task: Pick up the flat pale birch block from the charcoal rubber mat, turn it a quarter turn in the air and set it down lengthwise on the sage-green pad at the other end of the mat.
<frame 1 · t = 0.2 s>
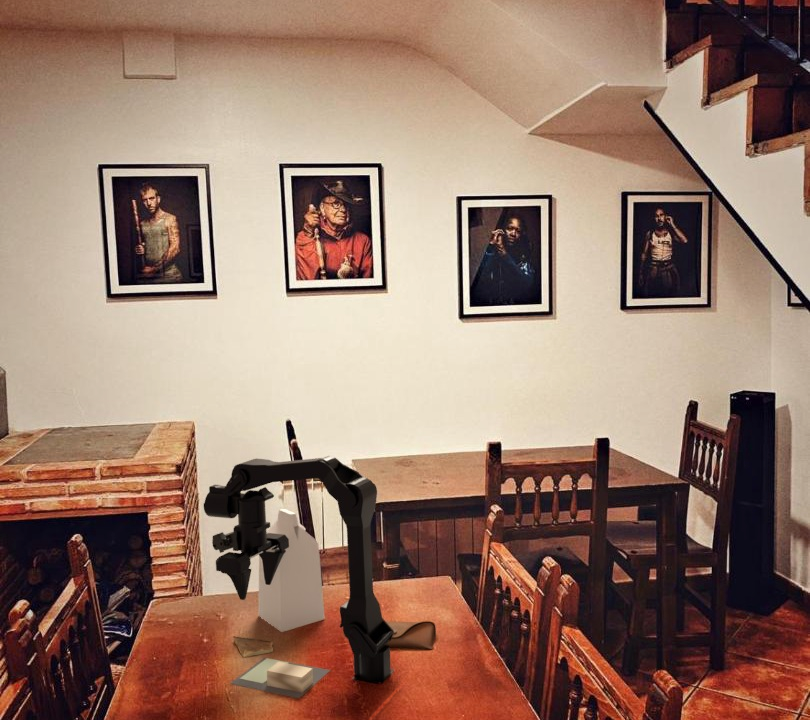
hand: (255, 591, 163), 14 cm above the table, tool pointing down, fingers open, 9 cm apart
milk: (291, 618, 185), on the table
birch block: (290, 684, 150), point 1 cm above the table, touching mat
mat: (280, 679, 153), on the table
shard: (248, 654, 167), on the table
sunglasses case: (395, 644, 170), on the table
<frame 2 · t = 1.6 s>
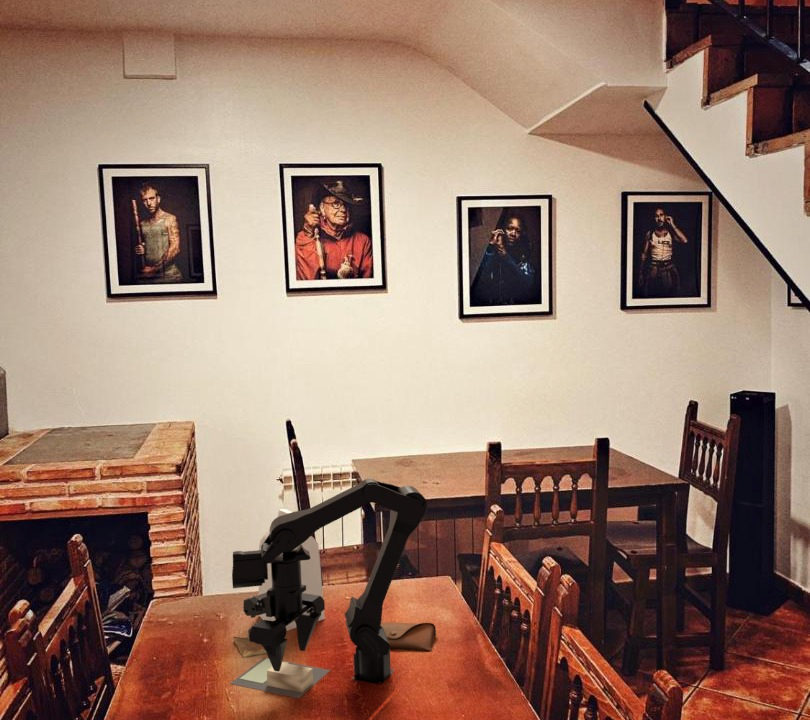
hand: (290, 660, 150), 5 cm above the table, tool pointing down, fingers open, 9 cm apart
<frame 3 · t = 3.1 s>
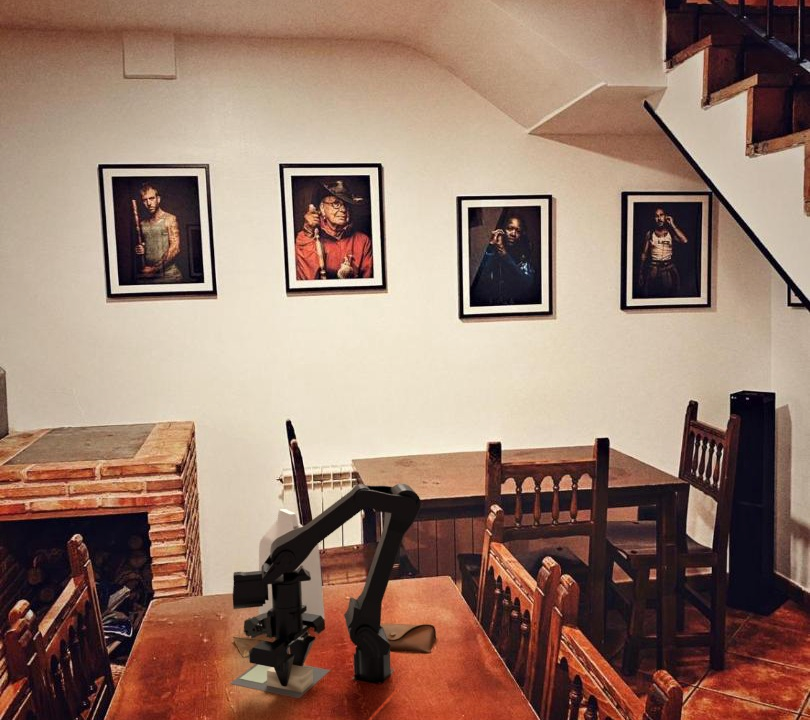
hand: (290, 680, 150), 1 cm above the table, tool pointing down, fingers closed on birch block, 4 cm apart
birch block: (290, 684, 150), point 1 cm above the table, touching gripper, mat
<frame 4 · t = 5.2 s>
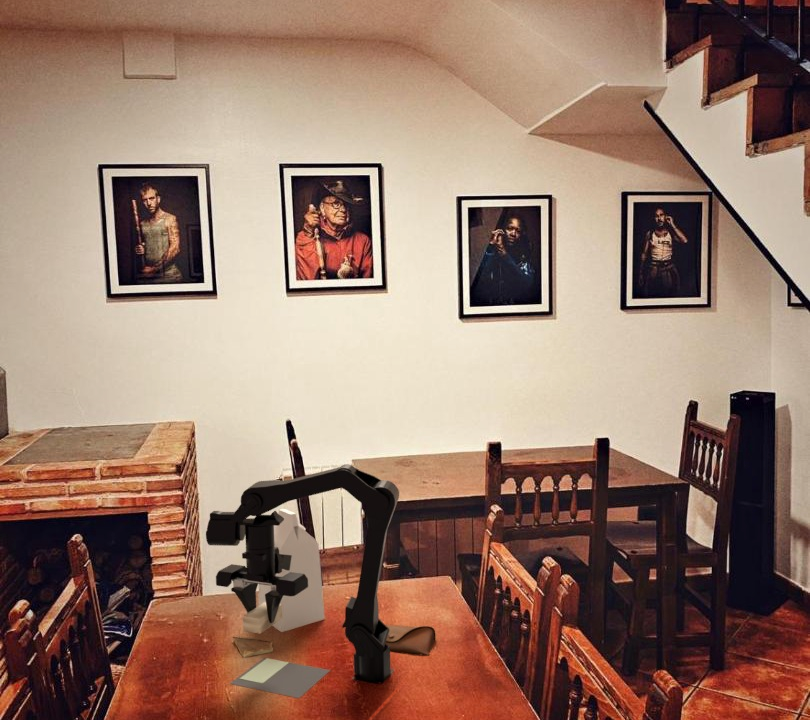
hand: (262, 621, 155), 11 cm above the table, tool pointing down, fingers closed on birch block, 4 cm apart
birch block: (263, 624, 155), point 10 cm above the table, touching gripper
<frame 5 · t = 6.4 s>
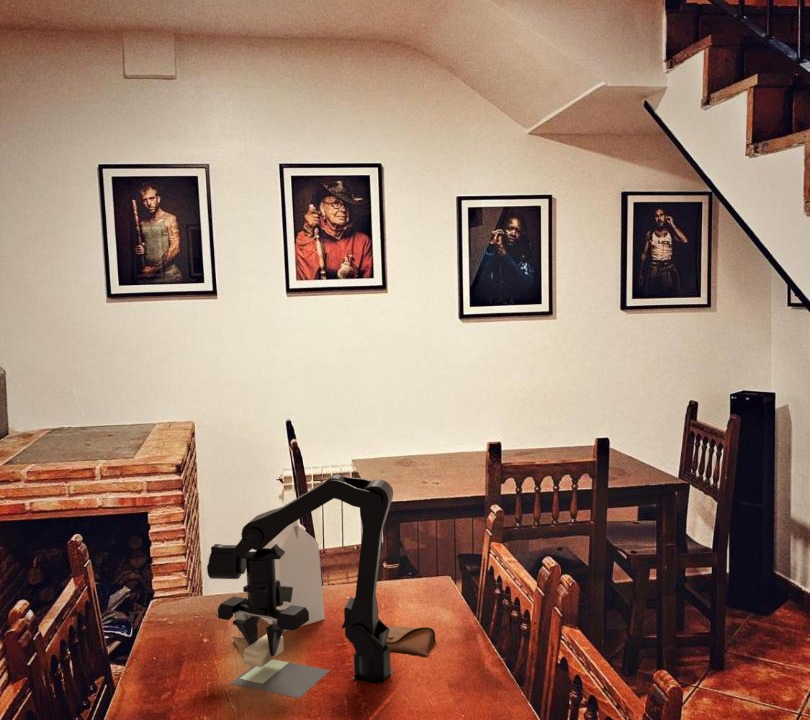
hand: (264, 653, 156), 4 cm above the table, tool pointing down, fingers closed on birch block, 4 cm apart
birch block: (264, 657, 156), point 3 cm above the table, touching gripper
when the fingers open (3 cm above the table, at t = 7.4 s): birch block drops 1 cm, resting on mat.
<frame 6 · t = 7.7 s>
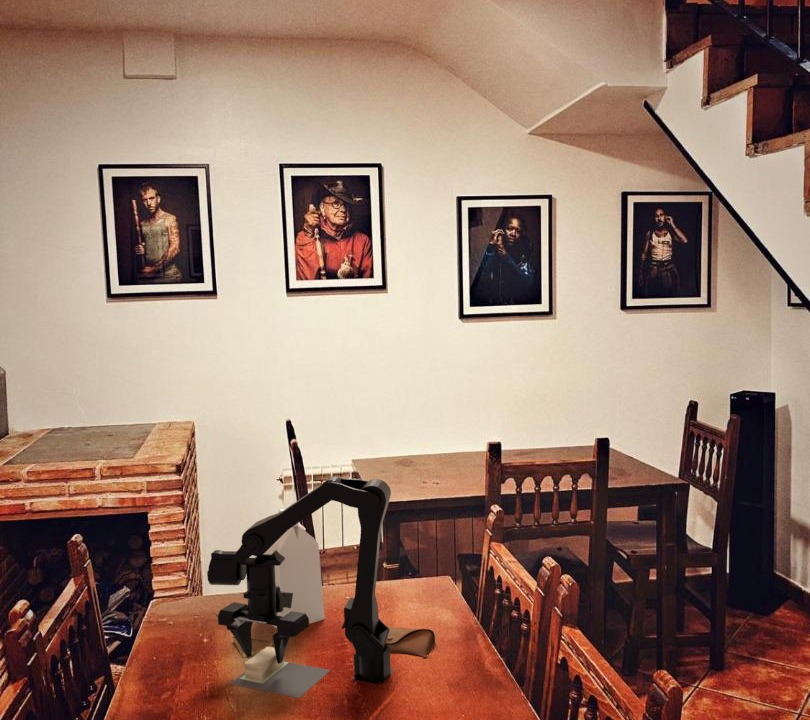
hand: (264, 659, 156), 3 cm above the table, tool pointing down, fingers open, 7 cm apart
birch block: (264, 670, 156), point 1 cm above the table, touching mat
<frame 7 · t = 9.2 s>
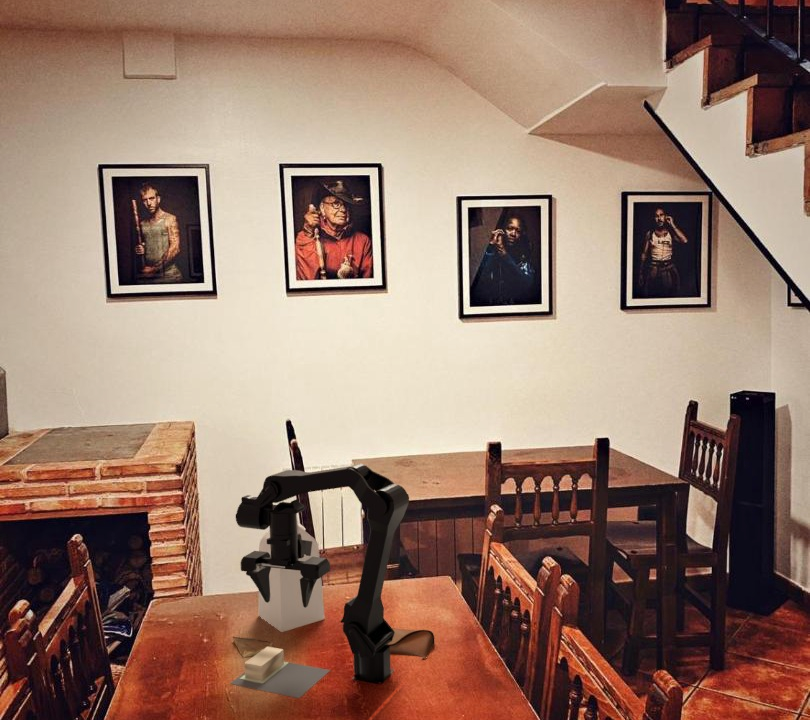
hand: (286, 604, 162), 12 cm above the table, tool pointing down, fingers open, 9 cm apart
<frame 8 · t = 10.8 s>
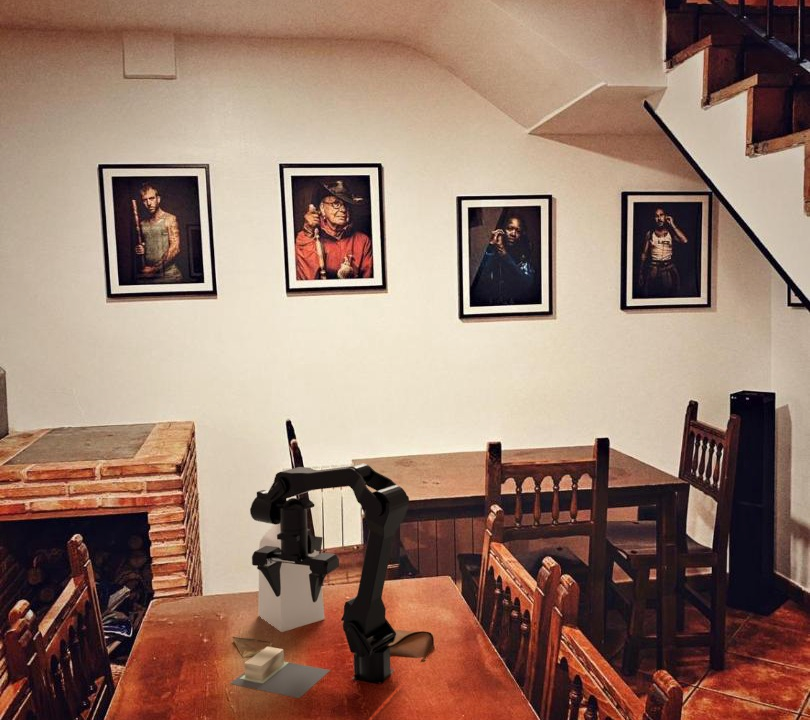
hand: (296, 598, 164), 12 cm above the table, tool pointing down, fingers open, 9 cm apart
at the end: birch block 0.0 cm from the target spot on the mat, point 0.7 cm above the mat's base; birch block tilted 0°; the gripper is holding nothing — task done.
